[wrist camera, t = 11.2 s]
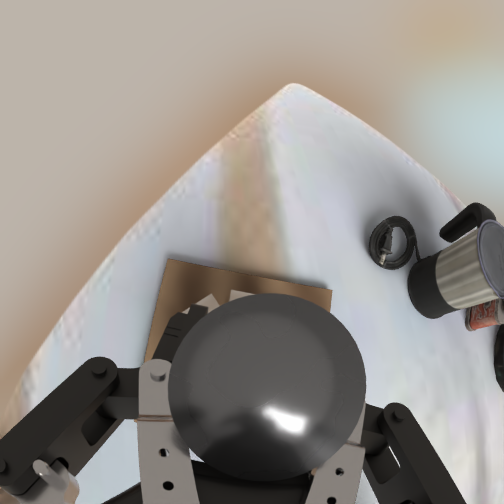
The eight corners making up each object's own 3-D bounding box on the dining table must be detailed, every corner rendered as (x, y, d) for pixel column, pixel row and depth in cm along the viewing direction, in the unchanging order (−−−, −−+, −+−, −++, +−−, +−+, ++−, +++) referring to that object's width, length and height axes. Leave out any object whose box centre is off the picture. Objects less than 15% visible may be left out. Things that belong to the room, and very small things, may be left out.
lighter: (472, 282, 38) (514, 264, 28) (483, 292, 38) (524, 275, 28) (462, 326, 35) (508, 314, 26) (473, 334, 35) (518, 324, 25)
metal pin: (199, 395, 16) (155, 462, 5) (213, 325, 18) (189, 275, 7) (272, 407, 16) (345, 482, 5) (284, 338, 18) (375, 308, 7)
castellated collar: (137, 419, 28) (122, 429, 23) (169, 261, 35) (161, 246, 30) (303, 448, 28) (316, 462, 24) (329, 292, 35) (344, 282, 30)
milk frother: (453, 318, 36) (525, 296, 22) (369, 323, 34) (444, 300, 21) (441, 232, 40) (500, 189, 26) (361, 222, 39) (416, 162, 25)
